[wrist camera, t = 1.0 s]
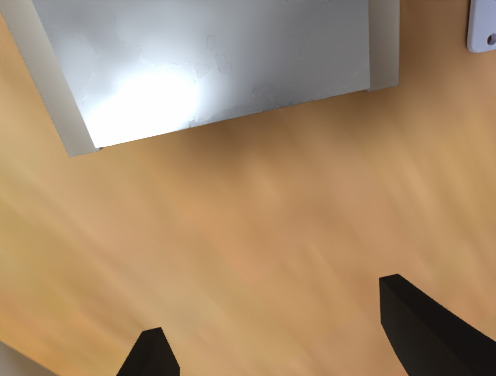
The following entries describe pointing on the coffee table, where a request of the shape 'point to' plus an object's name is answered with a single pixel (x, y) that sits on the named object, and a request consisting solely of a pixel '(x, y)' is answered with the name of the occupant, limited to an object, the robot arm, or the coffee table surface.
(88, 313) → the coffee table surface
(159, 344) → the robot arm
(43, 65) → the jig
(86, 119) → the grey piece
